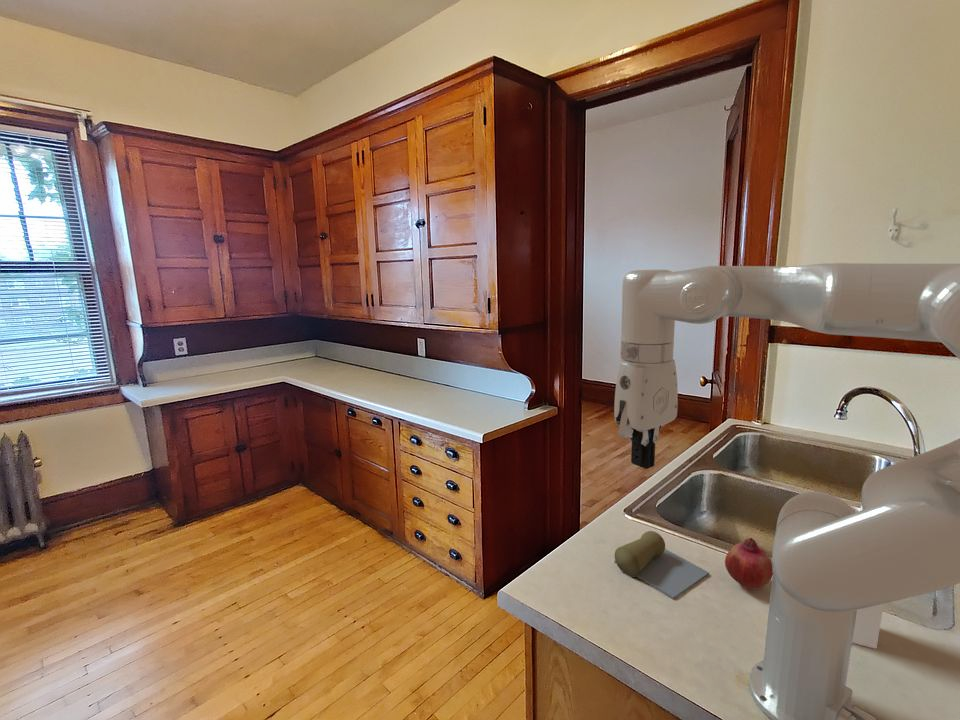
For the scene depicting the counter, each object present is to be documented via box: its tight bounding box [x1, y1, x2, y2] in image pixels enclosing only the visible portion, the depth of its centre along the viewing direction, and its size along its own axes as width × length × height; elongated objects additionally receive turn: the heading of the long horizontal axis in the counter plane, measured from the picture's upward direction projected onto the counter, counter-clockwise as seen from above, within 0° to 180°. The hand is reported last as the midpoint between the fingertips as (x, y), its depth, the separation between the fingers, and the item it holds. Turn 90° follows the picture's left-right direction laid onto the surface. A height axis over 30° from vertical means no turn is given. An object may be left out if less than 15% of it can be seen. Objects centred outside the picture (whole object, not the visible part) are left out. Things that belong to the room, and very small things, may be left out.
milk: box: [852, 504, 885, 650], centre depth 78 cm, size 6×6×22 cm
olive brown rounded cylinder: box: [614, 530, 666, 577], centre depth 99 cm, size 6×6×11 cm
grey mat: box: [614, 548, 710, 600], centre depth 97 cm, size 14×12×1 cm
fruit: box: [724, 537, 773, 590], centre depth 91 cm, size 8×8×10 cm
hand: (642, 464), depth 75 cm, fingers closed
